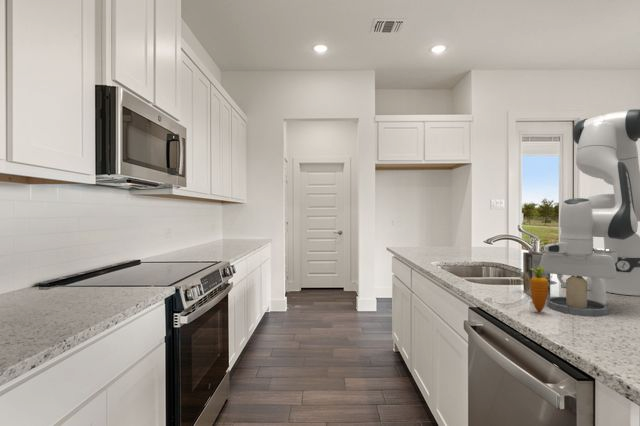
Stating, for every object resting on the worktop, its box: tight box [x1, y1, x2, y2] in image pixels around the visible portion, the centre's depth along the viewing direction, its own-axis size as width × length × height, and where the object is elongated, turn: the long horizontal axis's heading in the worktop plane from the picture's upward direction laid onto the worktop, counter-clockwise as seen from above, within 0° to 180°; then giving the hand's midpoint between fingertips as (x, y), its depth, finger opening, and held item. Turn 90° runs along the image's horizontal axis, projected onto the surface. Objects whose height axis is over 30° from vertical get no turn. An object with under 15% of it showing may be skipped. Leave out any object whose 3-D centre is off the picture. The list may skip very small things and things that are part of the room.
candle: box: [565, 275, 587, 308], centre depth 114 cm, size 6×6×10 cm
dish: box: [546, 296, 609, 318], centre depth 114 cm, size 16×16×2 cm
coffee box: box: [522, 251, 551, 299], centre depth 133 cm, size 9×6×16 cm
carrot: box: [530, 265, 548, 313], centre depth 110 cm, size 5×5×15 cm
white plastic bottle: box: [585, 277, 607, 305], centre depth 121 cm, size 6×12×6 cm
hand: (576, 289), depth 114 cm, fingers closed on candle, 5 cm apart
